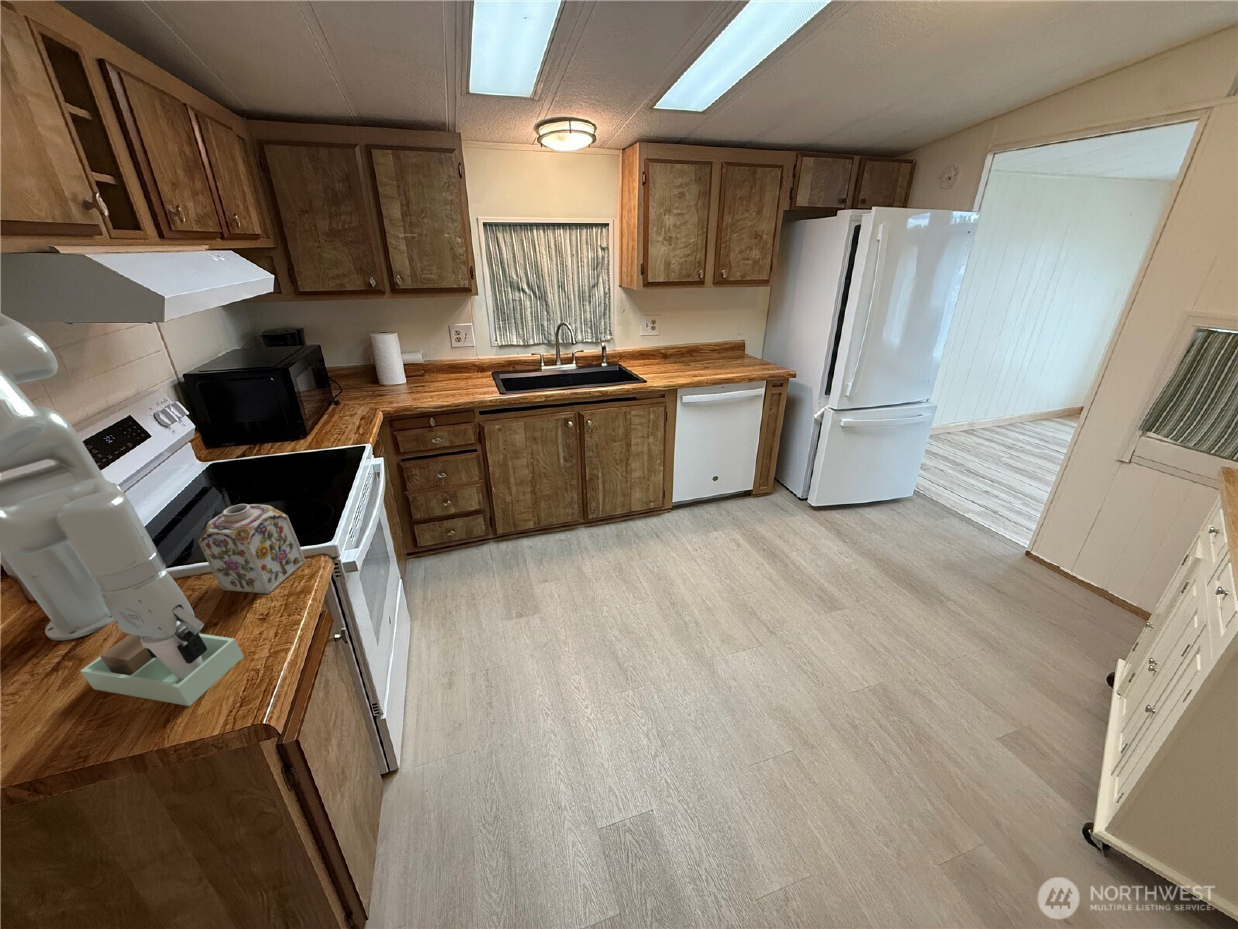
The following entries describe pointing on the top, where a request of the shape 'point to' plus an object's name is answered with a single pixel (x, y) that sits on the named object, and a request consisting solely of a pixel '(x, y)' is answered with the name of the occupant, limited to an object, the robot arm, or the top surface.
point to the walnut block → (126, 656)
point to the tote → (169, 675)
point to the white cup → (171, 654)
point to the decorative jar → (251, 548)
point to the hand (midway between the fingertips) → (180, 653)
